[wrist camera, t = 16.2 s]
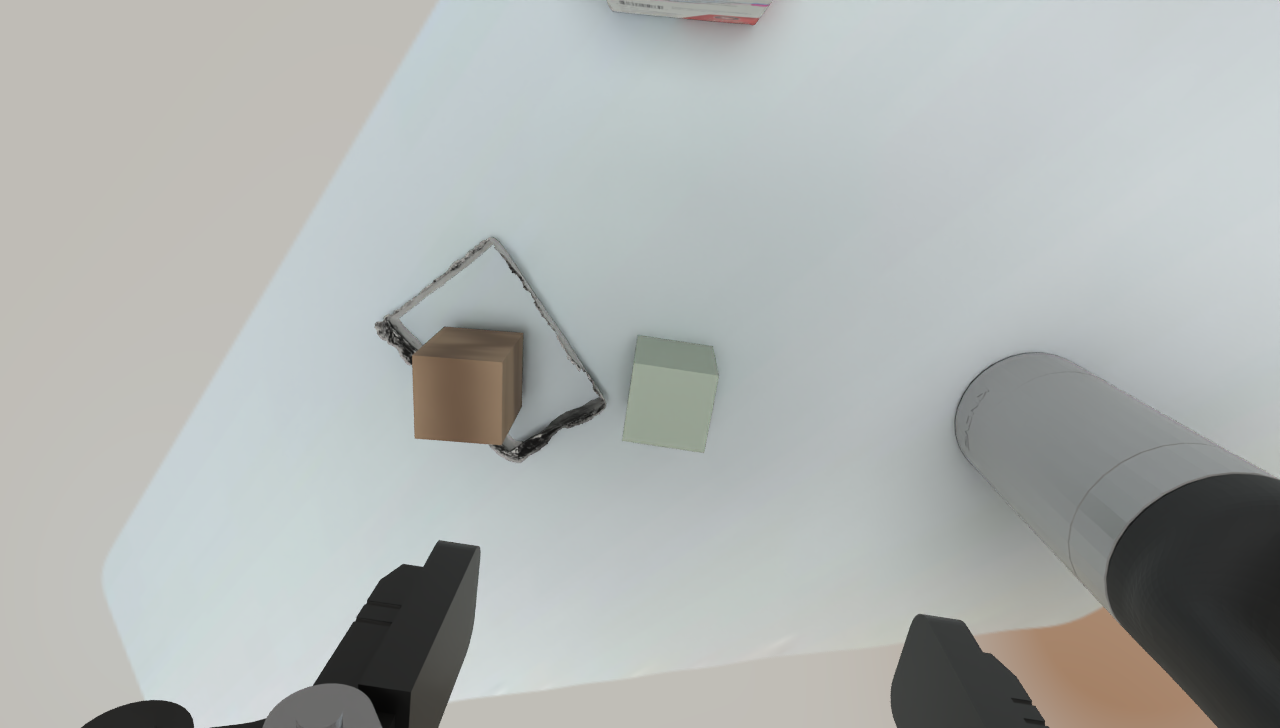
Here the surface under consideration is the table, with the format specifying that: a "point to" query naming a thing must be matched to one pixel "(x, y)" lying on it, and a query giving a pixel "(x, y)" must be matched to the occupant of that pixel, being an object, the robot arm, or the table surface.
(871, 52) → the table surface
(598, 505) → the table surface
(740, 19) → the ink cartridge box
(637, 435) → the sage block
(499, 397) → the walnut block
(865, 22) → the table surface
